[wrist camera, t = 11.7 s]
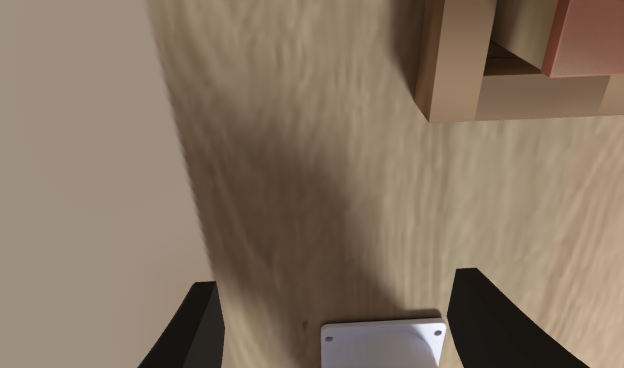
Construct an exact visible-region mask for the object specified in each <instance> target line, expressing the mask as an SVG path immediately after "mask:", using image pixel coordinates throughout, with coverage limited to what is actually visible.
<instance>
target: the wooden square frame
mask: <svg viewBox="0 0 624 368" xmlns="http://www.w3.org/2000/svg"><path fill="white" fill-rule="evenodd" d="M496 5H497V0H425V9H424V18H423V27H422V36H421V45H420V54H419V63H418V73H417V82H416V91H415V100H414V102H415V104H416V105H417V106H418V108H419V109H420V111H421V112H422V114H423V115H424V117H425V118H426V119H427V121H428V122H429V123H439V122H464V121H488V120H513V119H537V118H562V117H586V116H611V115H624V74H619V75H599V76H578V77H558V78H549V77H547V76H546V75H544V74H542V73H541V72H540V71H541V70H540V69H539V68H537V67H535V66H533V65H532V64H530V63H528V62H527V61H525V60H523V59H522V58H520V57H504V58H486V57H487V52H488V47H489V41H490V36H491V31H492V26H493V21H494V15H495V10H496Z"/></svg>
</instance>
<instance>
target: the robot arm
mask: <svg viewBox="0 0 624 368" xmlns="http://www.w3.org/2000/svg"><path fill="white" fill-rule="evenodd" d="M447 319H448V323H449V326H450V330H451V334H452V337H453V340H454V344H455V347H456V350H457V352H458V355H459V357H460V359H461V362H462V364H463V367H464V368H590V367H588V366H587V365H586V364H584V363H583V362H582V361H580V360H579V359H578V358H576V357H575V356H574V355H572V354H571V353H570V352H568V351H567V350H566V349H565V348H564V347H562V346H561V345H560V344H559V343H558V342H556V341H555V340H554V339H553V338H551V337H550V336H549V335H548V334H547V333H545V332H544V331H543V330H542V329H541V328H540V327H539V326H537V325H536V324H535V323H534V322H533V321H532V320H531V319H530V318H529V317H528V316H526V315H525V314H524V313H523V312H522V311H521V310H520V309H519V308H518V307H517V306H516V305H515V304H513V303H512V302H511V301H510V300H509V299H508V298H507V297H506V296H505V295H504V294H503V293H502V292H501V291H500V290H499V289H498V288H497V287H496V286H495V285H494V284H493V283H492V282H491V281H490V280H489V279H488V278H487V277H486V276H485V275H483V274H482V273H481V272H480V271H479V270H478V269H477V268H461V269H456V273H455V278H454V283H453V288H452V292H451V297H450V302H449V307H448V312H447ZM446 327H447V326H446V323H445V321H444V319H442V318H429V319H411V320H393V321H375V322H357V323H339V324H326V325H324V326H323V327H322V328H321V368H438V365H439V360H440V355H441V350H442V346H443V341H444V336H445V332H446ZM224 334H225V326H224V320H223V315H222V310H221V305H220V299H219V294H218V289H217V283H216V281H210V282H195V283H194V284H193V285H192V287H191V288H190V290H189V292H188V294H187V295H186V297H185V299H184V300H183V302H182V304H181V306H180V307H179V309H178V310H177V312H176V314H175V315H174V317H173V318H172V320H171V321H170V323H169V324H168V326H167V327H166V329H165V330H164V332H163V333H162V335H161V336H160V338H159V339H158V341H157V342H156V343H155V345H154V346H153V348H152V349H151V350H150V352H149V353H148V354H147V356H146V357H145V358H144V360H143V361H142V362H141V364H140V365H139V366H138V368H221V364H222V357H223V346H224ZM329 336H330V337H329Z"/></svg>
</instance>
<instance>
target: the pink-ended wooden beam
mask: <svg viewBox="0 0 624 368" xmlns="http://www.w3.org/2000/svg"><path fill="white" fill-rule="evenodd" d="M490 40H492V41H493V42H495V43H497V44H498V45H500V46H502V47H503V48H505V49H507V50H508V51H510V52H512V53H513V54H515V55H517V56H518V57H520V58H522V59H523V60H525V61H527V62H528V63H530V64H532V65H533V66H535V67H537V68H539V69H540V70H541V71H540V72H541V73H542V74H544V75H546V76H547V77H549V78H558V77H578V76H599V75H619V74H624V0H497V5H496V10H495V15H494V21H493V26H492V31H491V36H490Z"/></svg>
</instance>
